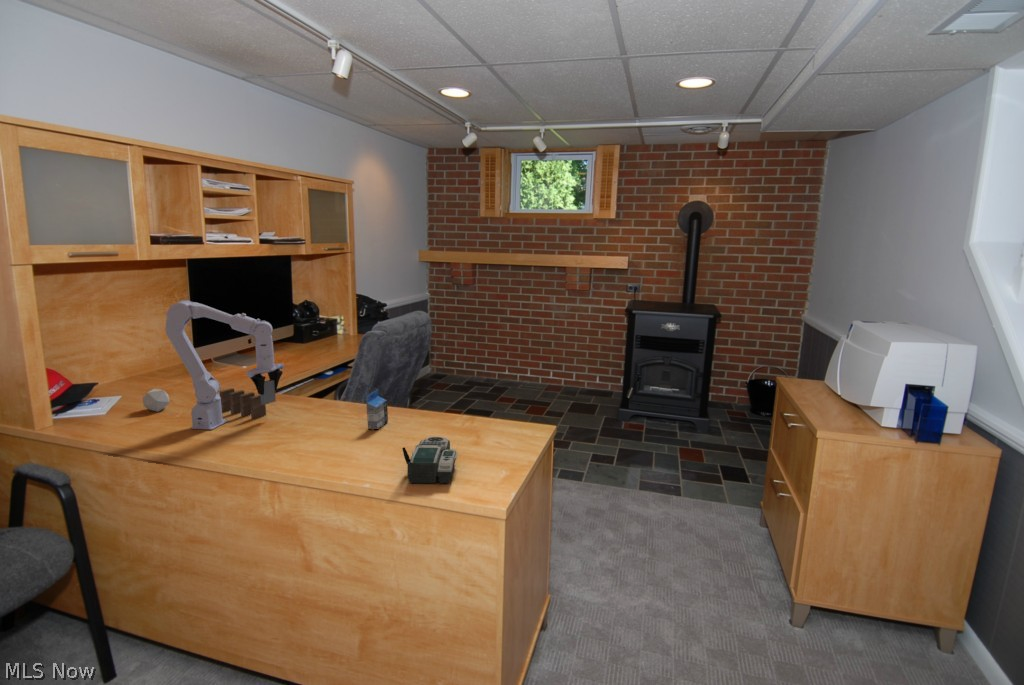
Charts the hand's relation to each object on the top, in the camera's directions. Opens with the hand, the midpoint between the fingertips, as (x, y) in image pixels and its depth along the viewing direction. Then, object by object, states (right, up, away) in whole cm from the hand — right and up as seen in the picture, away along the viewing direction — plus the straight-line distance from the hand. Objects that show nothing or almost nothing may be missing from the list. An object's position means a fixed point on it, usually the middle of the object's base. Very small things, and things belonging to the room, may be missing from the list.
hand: (267, 392), depth 191 cm
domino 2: (-15, -8, +9) cm, 19 cm away
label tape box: (+41, -12, -3) cm, 42 cm away
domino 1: (-20, -8, +11) cm, 24 cm away
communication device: (+65, -19, -33) cm, 75 cm away
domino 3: (-10, -9, +6) cm, 15 cm away
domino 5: (0, -4, +1) cm, 4 cm away
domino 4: (-5, -10, +4) cm, 12 cm away
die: (-47, -8, +10) cm, 48 cm away
